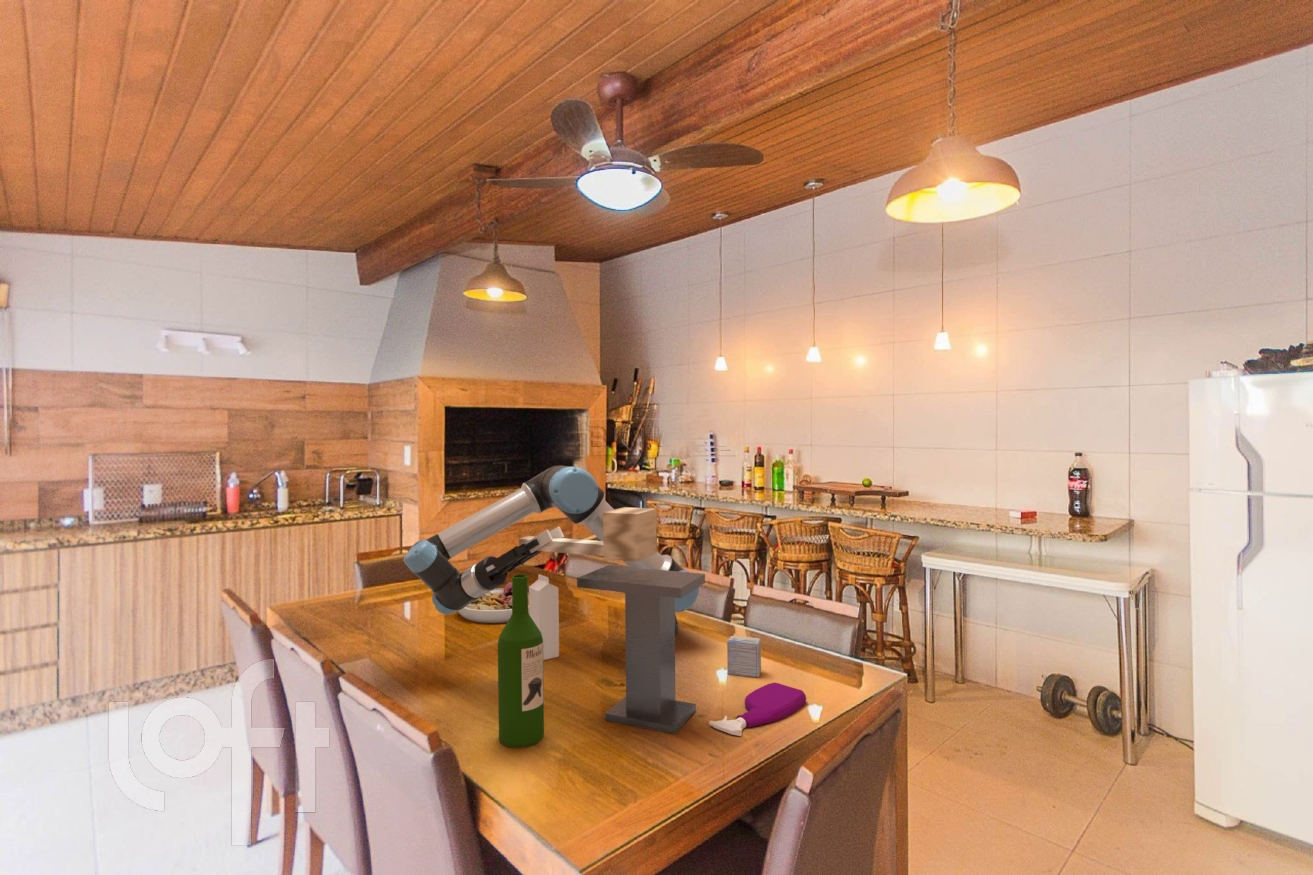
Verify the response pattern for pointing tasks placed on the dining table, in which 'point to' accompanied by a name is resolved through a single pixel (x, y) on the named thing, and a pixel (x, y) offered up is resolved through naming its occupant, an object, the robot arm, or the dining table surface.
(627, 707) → the stand
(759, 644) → the medicine box
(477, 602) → the bowl
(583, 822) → the dining table surface
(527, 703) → the wine bottle
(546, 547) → the wooden l-shaped block
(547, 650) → the milk
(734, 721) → the spray bottle
